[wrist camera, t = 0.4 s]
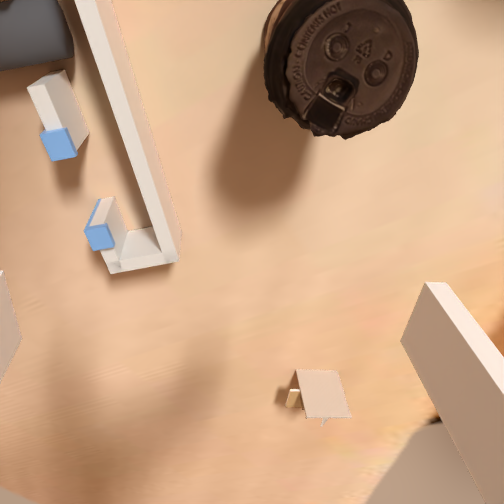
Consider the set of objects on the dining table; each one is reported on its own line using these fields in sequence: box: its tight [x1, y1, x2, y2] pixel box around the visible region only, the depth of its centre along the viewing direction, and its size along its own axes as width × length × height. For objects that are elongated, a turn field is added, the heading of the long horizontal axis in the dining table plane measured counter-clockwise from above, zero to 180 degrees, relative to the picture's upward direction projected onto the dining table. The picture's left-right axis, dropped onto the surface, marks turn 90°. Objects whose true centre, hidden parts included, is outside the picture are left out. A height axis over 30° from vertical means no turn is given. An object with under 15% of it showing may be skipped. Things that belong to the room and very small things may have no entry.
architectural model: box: [285, 369, 352, 427], centre depth 53 cm, size 3×7×7 cm, turn 82°
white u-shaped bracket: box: [27, 0, 182, 274], centre depth 32 cm, size 26×6×6 cm, turn 9°
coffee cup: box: [264, 0, 419, 140], centre depth 27 cm, size 9×8×13 cm
